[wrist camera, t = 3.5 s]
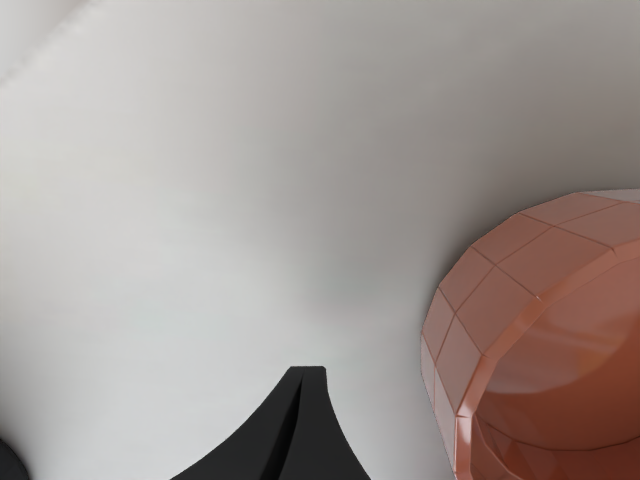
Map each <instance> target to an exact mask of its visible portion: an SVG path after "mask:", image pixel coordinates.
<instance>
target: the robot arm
mask: <svg viewBox="0 0 640 480" xmlns="http://www.w3.org/2000/svg"><path fill="white" fill-rule="evenodd" d="M170 480H371V479H370V477H369V476H368V475H367V473H366V472H365V470H364V469H363V467H362V465H361V464H360V462H359V461H358V459H357V458H356V456H355V454H354V453H353V451H352V449H351V447H350V446H349V444H348V442H347V440H346V438H345V436H344V434H343V432H342V430H341V428H340V425H339V423H338V421H337V418H336V415H335V413H334V410H333V407H332V404H331V401H330V398H329V394H328V389H327V376H326V369H325V368H324V367H323V366H293V367H290V368H289V369H288V370H287V372H286V373H285V374H284V376H283V377H282V378H281V380H280V381H279V383H278V384H277V385H276V386H275V388H274V389H273V390H272V392H271V393H270V394H269V395H268V396H267V398H266V399H265V400H264V401H263V403H262V404H261V405H260V406H259V407H258V408H257V409H256V410H255V412H254V413H253V414H252V415H251V416H250V417H249V418H248V419H247V420H246V421H245V422H244V423H243V424H242V425H241V426H240V427H239V428H238V429H237V430H236V431H235V432H234V433H233V434H232V435H231V436H230V437H229V438H227V439H226V440H225V441H224V442H223V443H221V444H220V445H219V446H217V447H216V448H215V449H214V450H212V451H211V452H210V453H208V454H207V455H206V456H205V457H203V458H202V459H201V460H199V461H198V462H196V463H195V464H193V465H192V466H190V467H189V468H187V469H186V470H184V471H183V472H181V473H180V474H178V475H176V476H175V477H173V478H172V479H170Z"/></svg>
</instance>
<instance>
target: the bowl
mask: <svg viewBox="0 0 640 480" xmlns="http://www.w3.org/2000/svg"><path fill="white" fill-rule="evenodd" d="M421 373H422V377H423V380H424V384H425V387H426V390H427V393H428V396H429V399H430V402H431V405H432V408H433V411H434V414H435V418H436V421H437V424H438V427H439V430H440V433H441V436H442V439H443V443H444V446H445V449H446V452H447V455H448V458H449V461H450V464H451V467H452V470H453V474H454V476H455V479H456V480H640V189H621V190H603V191H585V192H575V193H571V194H568V195H565V196H562V197H559V198H556V199H553V200H551V201H548V202H545V203H542V204H539V205H536V206H533V207H530V208H528V209H525V210H522V211H519V212H518V213H516V214H514V215H513V216H511V217H510V218H508V219H507V220H505V221H504V222H503V223H501V224H500V225H498V226H497V227H495V228H494V229H493V230H491V231H490V232H488V233H487V234H485V235H484V236H483V237H481V238H480V239H478V240H477V241H475V242H474V243H473V244H471V246H470V247H468V249H467V250H466V251H465V252H464V254H463V255H462V256H461V257H460V259H459V260H458V261H457V262H456V264H455V265H454V266H453V267H452V269H451V270H450V271H449V273H448V274H447V275H446V276H445V278H444V279H443V280H442V281H441V283H440V284H439V287H438V288H437V289H436V292H435V295H434V298H433V300H432V303H431V306H430V308H429V311H428V314H427V316H426V319H425V322H424V325H423V327H422V331H421Z"/></svg>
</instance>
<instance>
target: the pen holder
mask: <svg viewBox="0 0 640 480" xmlns="http://www.w3.org/2000/svg"><path fill="white" fill-rule="evenodd" d="M0 480H29V478H28V475H27V473H26V471H25V469H24V467H23V465H22V464H21V462H20V460H19V459H18V458H17V456H16V455H15V454H14V453H13V451H12V450H11V449H10V448H9V447H8V446H7V445H6V444H4V443H3V442H2V441H1V440H0Z"/></svg>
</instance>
